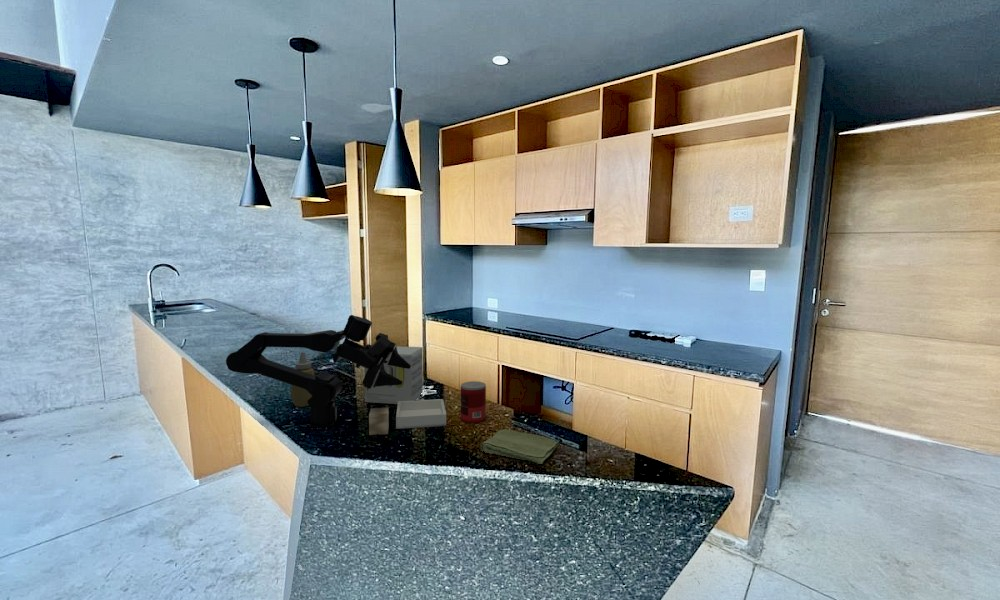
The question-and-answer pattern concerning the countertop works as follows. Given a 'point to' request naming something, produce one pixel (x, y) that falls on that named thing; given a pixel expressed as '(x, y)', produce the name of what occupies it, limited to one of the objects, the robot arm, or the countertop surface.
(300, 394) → the squeeze bottle
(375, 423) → the ash block
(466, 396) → the canned food
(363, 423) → the countertop surface
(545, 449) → the washcloth
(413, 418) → the grey bin
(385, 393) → the supplement box
